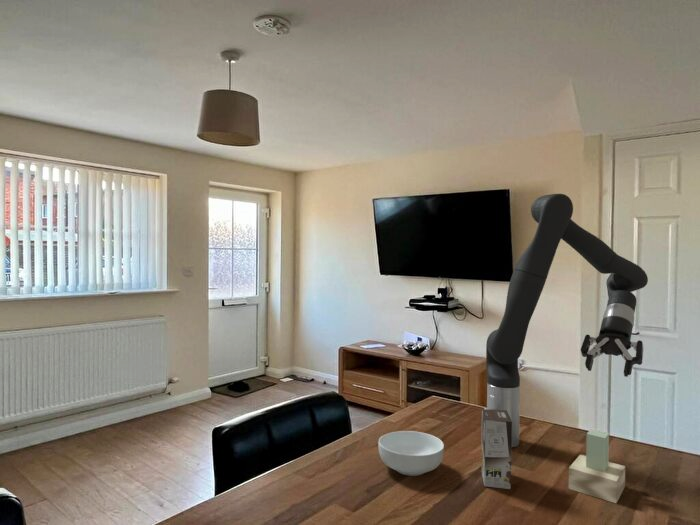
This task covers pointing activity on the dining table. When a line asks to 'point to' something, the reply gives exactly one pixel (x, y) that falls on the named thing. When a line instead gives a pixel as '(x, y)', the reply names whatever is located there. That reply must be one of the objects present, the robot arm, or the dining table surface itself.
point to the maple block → (597, 480)
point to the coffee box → (496, 448)
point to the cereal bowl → (411, 452)
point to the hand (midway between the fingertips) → (606, 371)
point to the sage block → (597, 450)
